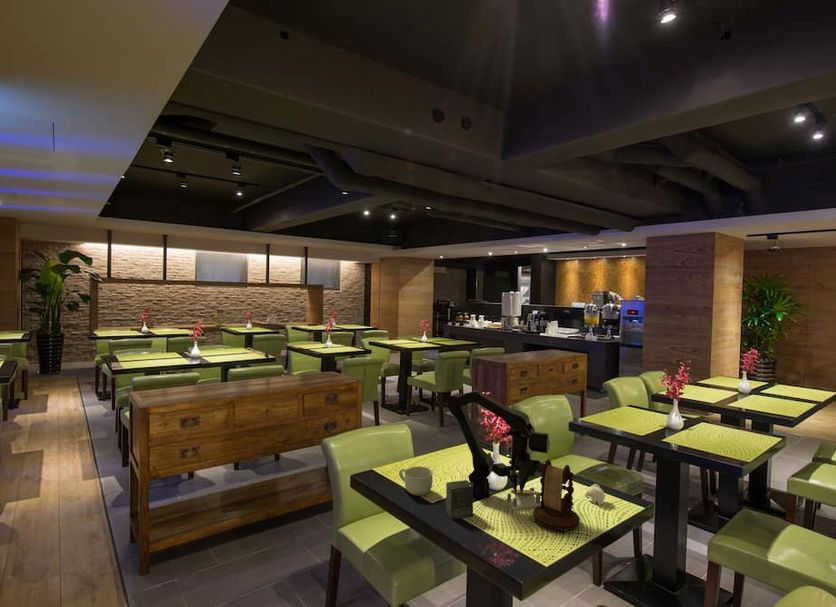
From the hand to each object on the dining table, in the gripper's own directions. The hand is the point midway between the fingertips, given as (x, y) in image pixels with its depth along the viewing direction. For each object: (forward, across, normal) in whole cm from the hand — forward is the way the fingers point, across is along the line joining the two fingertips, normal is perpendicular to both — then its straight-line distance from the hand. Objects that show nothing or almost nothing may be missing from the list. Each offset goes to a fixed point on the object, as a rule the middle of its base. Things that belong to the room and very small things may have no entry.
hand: (518, 491), depth 162 cm
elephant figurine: (+4, +28, -7) cm, 30 cm away
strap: (+1, +3, 0) cm, 3 cm away
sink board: (+4, +2, 0) cm, 5 cm away
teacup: (+5, -32, +21) cm, 39 cm away
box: (+5, -24, -2) cm, 24 cm away
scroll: (+5, +5, -15) cm, 17 cm away
